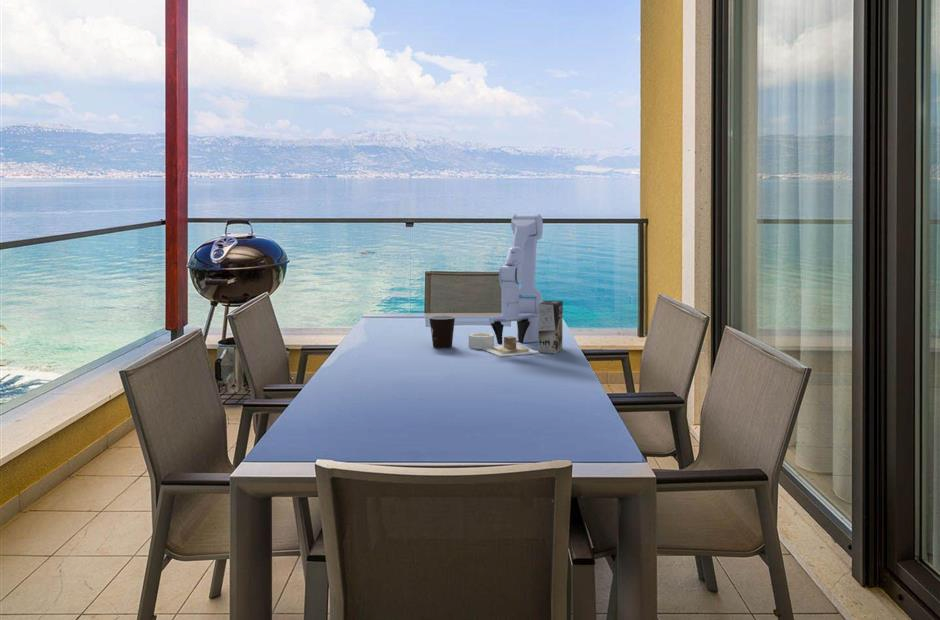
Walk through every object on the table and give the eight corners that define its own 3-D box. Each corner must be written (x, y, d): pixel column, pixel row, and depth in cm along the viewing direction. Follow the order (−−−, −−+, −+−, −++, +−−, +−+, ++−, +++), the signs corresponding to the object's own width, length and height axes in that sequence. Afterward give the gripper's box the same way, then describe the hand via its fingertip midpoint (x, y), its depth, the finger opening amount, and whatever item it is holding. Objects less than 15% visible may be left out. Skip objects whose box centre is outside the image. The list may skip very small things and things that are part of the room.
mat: (519, 346, 288) (519, 344, 288) (539, 353, 275) (539, 352, 275) (482, 349, 282) (482, 348, 282) (500, 357, 270) (500, 355, 270)
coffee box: (557, 353, 275) (557, 304, 272) (537, 352, 277) (537, 303, 274) (563, 348, 283) (563, 300, 281) (544, 347, 285) (544, 299, 283)
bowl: (487, 343, 293) (487, 332, 292) (497, 347, 286) (497, 335, 285) (465, 345, 290) (465, 333, 289) (475, 349, 283) (475, 337, 282)
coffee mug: (452, 349, 283) (451, 319, 282) (427, 348, 285) (426, 319, 284) (459, 342, 295) (459, 314, 293) (435, 342, 296) (434, 313, 295)
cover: (516, 346, 285) (516, 334, 284) (528, 351, 277) (528, 338, 276) (491, 348, 281) (491, 336, 281) (503, 353, 273) (503, 340, 272)
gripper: (495, 305, 270) (495, 347, 272) (535, 302, 276) (535, 343, 278) (486, 302, 276) (486, 343, 278) (525, 299, 282) (525, 339, 284)
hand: (510, 343), depth 278 cm, fingers open, 7 cm apart
